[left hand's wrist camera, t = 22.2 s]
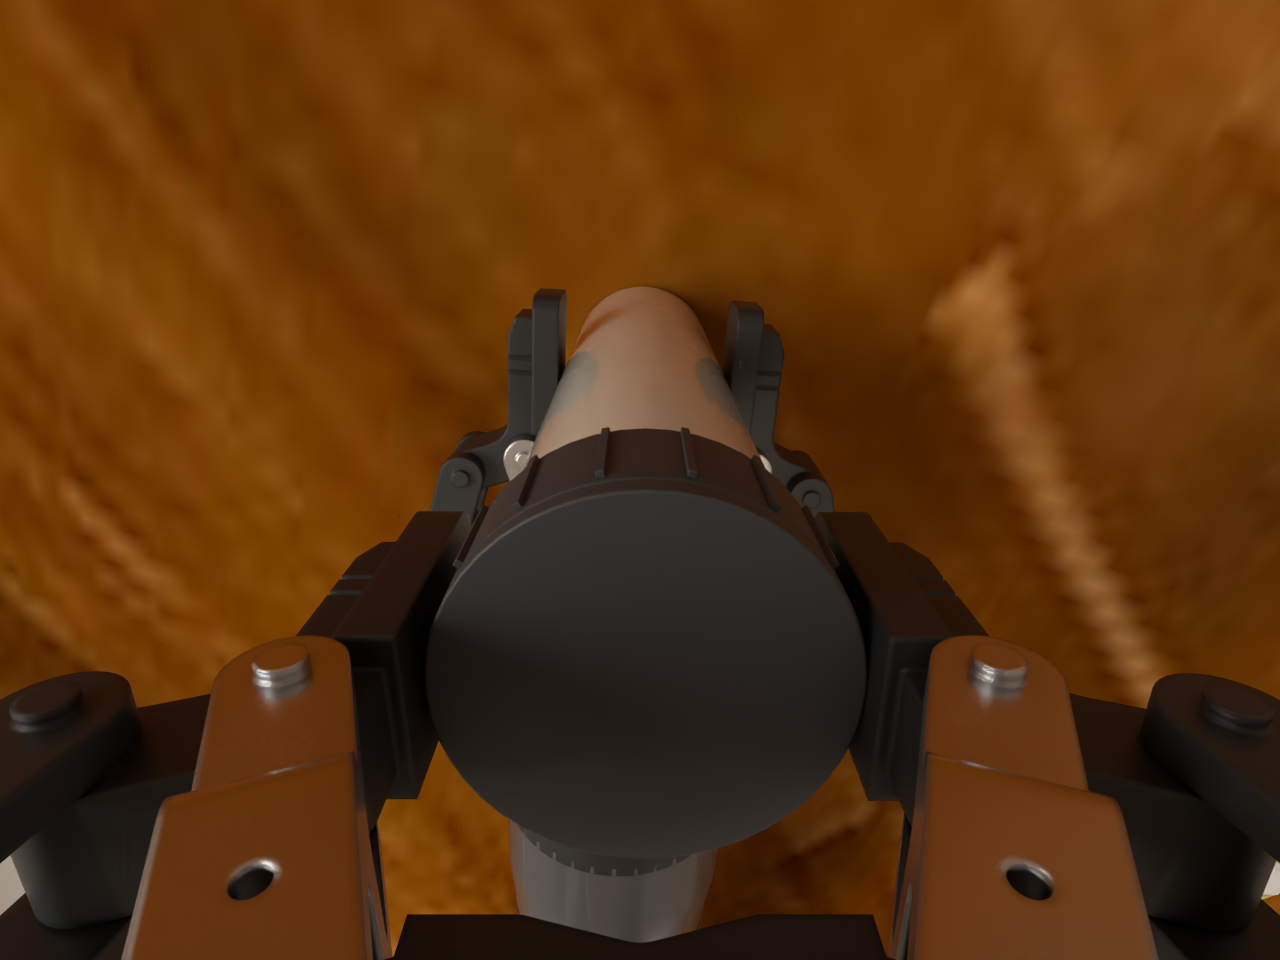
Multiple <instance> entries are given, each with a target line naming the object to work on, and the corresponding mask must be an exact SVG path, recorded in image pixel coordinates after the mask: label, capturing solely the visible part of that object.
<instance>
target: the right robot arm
mask: <svg viewBox="0 0 1280 960" xmlns="http://www.w3.org/2000/svg"><path fill="white" fill-rule="evenodd" d="M566 309H567V295H566V290H559V289H542V288H541V289H540V290H539V291H538V292H537V293H536V294H535V295H534V299H533V309H522V310H521V312H520V313H519V314H518V315H517V316H516V317H515V319H514V321H513V324H512V326H511V329H510V331H509V334H508V424H507V425H506V426H504V427H503V428H500V429H497V430H494V431H490V432H487V433H484V432H480V431H474V432H470V433H468V434H466V435H465V436H464V437H463V438H462V439H461V440H460V442H459V443H458V445H457V447H456V450H455V452H454V453H453V455H451V456H450V457H449V458H448V459H447V460H446V461H445V463H444V464H443V466H442V467H441V469H440V472H439V476H438V480H437V484H436V488H435V492H434V496H433V500H432V504H431V508H430V511H466V512H467V513H468V515H469V517H470V521H471V526H472V525H473V523H474V521H475V519H476V517H477V515H478V513H479V511H480V509H481V508H482V506H483V505H484V501H485V498H486V494H487V491H488V487H490V486H494V485H497V484H501V483H505V482H508V481H511V480H512V479H513V478H515V477H516V476H517V475H518V474H519V473H520V472H522V470H523V467H524V465H525V463H526V460H527V458H528V456H529V453H530V451H531V448H532V446H533V444H534V441H535V439H536V436H537V434H538V432H539V429H540V427H541V425H542V422H543V420H544V417H545V415H546V413H547V410H548V408H549V405H550V403H551V401H552V398H553V396H554V393H555V391H556V389H557V386H558V384H559V382H560V379H561V377H562V374H563V372H564V370H565V353H566ZM783 358H784V350H783V346H782V342H781V339H780V335H779V333H778V332H777V331H776V330H775V329H774V328H773V327H772V326H771V325H767V324H764V312H763V309H762V308H761V307H760V306H759V305H758V304H757V303H756V302H742V301H731V302H730V305H729V311H728V319H727V329H726V339H725V348H724V358H723V368H722V372H723V374H724V377H725V379H726V381H727V383H728V386H729V388H730V390H731V392H732V395H733V397H734V399H735V401H736V404H737V406H738V408H739V410H740V413H741V415H742V417H743V419H744V422H745V424H746V426H747V428H748V431H749V433H750V435H751V437H752V439H753V442H754V444H755V446H756V448H757V451H758V453H759V455H760V457H761V460H762V462H763V464H764V466H765V469H766V470H768V471H769V472H770V473H771V474H772V475H773V476H775V477H776V478H777V479H778V480H779V481H780V482H781V483H782V484H783V485H784V486H785V487H786V488H787V490H788V491H789V492H790V493H791V494H792V495H793V496H794V498H795V499H796V500H797V502H798V503H799V505H800V506H801V508H802V507H804V506H806V505H807V506H808V507H809V509H810V510H811V512H812V514H813V516H814V518H815V515H816V514H817V513H818V512H834V504H833V496H832V491H831V489H830V487H829V486H828V484H827V482H826V481H825V479H824V478H823V476H822V474H821V473H820V471H819V470H818V468H817V467H816V465H815V463H814V462H813V460H812V459H811V457H810V456H809V455H808V454H806V453H804V452H802V451H790V450H788V449H786V448H783V447H781V446H779V445H777V444H775V443H774V442H773V434H774V426H775V419H776V411H777V404H778V396H779V387H780V381H781V372H782V366H783ZM509 850H510V860H511V867H512V873H513V879H514V883H515V888H516V915H526V916H529V917H533V918H537V919H541V920H545V921H549V922H553V923H557V924H561V925H565V926H569V927H573V928H577V929H581V930H585V931H589V932H593V933H597V934H601V935H605V936H609V937H613V938H617V939H621V940H625V941H629V942H635V943H645V942H651V941H655V940H659V939H663V938H667V937H671V936H675V935H679V934H683V933H687V932H691V931H695V930H699V929H701V924H702V916H703V908H704V902H705V899H706V896H707V893H708V890H709V887H710V884H711V881H712V877H713V874H714V869H715V865H716V860H717V854H718V848H717V849H713V850H709V851H705V852H701V853H697V854H690V855H684V856H677V857H668V858H647V859H643V858H623V857H614V856H607V855H600V854H594V853H590V852H586V851H582V850H578V849H574V848H570V847H567V846H564V845H561V844H559V843H556V842H553V841H550V840H548V839H545V838H543V837H541V836H539V835H537V834H535V833H533V832H531V831H529V830H527V829H524V828H522V827H521V826H519V825H518V824H516V823H514V822H513V821H511V820H510V819H509Z"/></svg>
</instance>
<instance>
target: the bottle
mask: <svg viewBox="0 0 1280 960" xmlns="http://www.w3.org/2000/svg"><path fill="white" fill-rule="evenodd" d="M606 427H609V428H610V432H611V431H616V430H626V429H642V428H648V429H664V430H674V431H679V432H680V431H681V427H684V428H689V430H690V434H695V435H699V436H702V437H705V438H708V439H711V440H714V441H717V442H720V443H722V444H724V445H726V446H729V447H731V448H733V449H735V450H737V451H739V452H741V453H743V454H745V455H746V456H748V457H749V458H752V457H753V456H754V455H756V456H757V457H759V458H760V459H761V457H760V455H759V453H758V451H757V448H756V446H755V444H754V442H753V439H752V437H751V435H750V433H749V431H748V428H747V426H746V424H745V422H744V419H743V417H742V415H741V413H740V410H739V408H738V406H737V404H736V401H735V399H734V397H733V395H732V392H731V390H730V388H729V386H728V383H727V381H726V379H725V377H724V374H723V372H722V370H721V368H720V365H719V363H718V361H717V359H716V356H715V354H714V352H713V350H712V347H711V345H710V343H709V341H708V338H707V336H706V334H705V332H704V329H703V327H702V325H701V323H700V321H699V319H698V317H697V316H696V315H695V313H694V312H693V310H692V309H691V308H690V307H689V306H688V305H687V304H686V303H685V302H684V301H682V300H681V299H680V298H678V297H677V296H675V295H673V294H671V293H669V292H667V291H665V290H661V289H658V288H653V287H632V288H627V289H623V290H620V291H618V292H615V293H613V294H611V295H610V296H608V297H606V298H605V299H604V300H602V301H601V302H600V303H599V304H598V305H597V306H596V307H595V308H594V309H593V310H592V311H591V313H590V314H589V315H588V317H587V319H586V320H585V322H584V324H583V327H582V329H581V331H580V334H579V336H578V339H577V341H576V343H575V346H574V348H573V351H572V353H571V355H570V358H569V360H568V362H567V365H566V367H565V370H564V372H563V374H562V377H561V379H560V382H559V384H558V386H557V389H556V391H555V393H554V396H553V398H552V401H551V403H550V405H549V408H548V410H547V413H546V415H545V417H544V420H543V422H542V425H541V427H540V429H539V432H538V434H537V436H536V439H535V441H534V444H533V446H532V448H531V451H530V453H529V456H528V458H527V460H526V463H525V465H524V467H523V470H524V469H525V468H526V467H527V465H528V462H529V460H530V458H531V457H533V456H535V455H537V456H538V457H539V459H540V458H541V457H543V456H544V455H546V454H547V453H549V452H551V451H554V450H556V449H558V448H560V447H562V446H564V445H566V444H568V443H570V442H573V441H577V440H580V439H583V438H586V437H589V436H592V435H595V434H601V429H602V428H606ZM761 461H762V460H761ZM762 463H763V462H762ZM763 465H764V464H763ZM764 468H765V466H764ZM523 470H522V471H523Z"/></svg>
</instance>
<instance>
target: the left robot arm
mask: <svg viewBox="0 0 1280 960" xmlns="http://www.w3.org/2000/svg"><path fill="white" fill-rule="evenodd" d="M815 520H816V522H817V524H818V526H819V527H820V529H821V531H822V533H823V535H824V537H825V539H826V541H827V543H828V544H829V546H830V548H831V550H832V552H833V554H834V556H835V558H836V560H837V562H838V563H839V566H838V567H836V568H834V570H835V572H836V574H837V576H838V578H839V580H840V582H841V584H842V586H843V588H844V590H845V592H846V593H847V595H848V598H849V600H850V602H851V604H852V606H853V609H854V611H855V613H856V615H857V618H858V620H859V624H860V627H861V631H862V635H863V638H864V642H865V649H866V658H867V668H868V670H867V688H866V696H865V701H864V706H863V710H862V715H861V719H860V722H859V724H858V727H857V730H856V732H855V735H854V738H853V740H852V742H851V744H850V746H849V747H848V748H849V750H850V753H851V756H852V758H853V761H854V764H855V766H856V769H857V772H858V774H859V777H860V780H861V782H862V785H863V788H864V790H865V793H866V796H867V798H868V801H900V803H901V805H902V808H903V810H904V818H903V824H902V830H901V836H900V843H899V853H898V863H897V873H896V882H895V892H894V902H893V912H892V921H891V931H890V941H889V951H888V957H886V954H885V951H884V948H883V945H882V942H881V939H880V936H879V933H878V929H877V926H876V923H875V920H874V917H873V915H754V916H751V917H747V918H743V919H739V920H735V921H731V922H727V923H723V924H719V925H715V926H711V927H707V928H703V929H699V930H695V931H691V932H687V933H683V934H679V935H675V936H671V937H667V938H663V939H659V940H655V941H651V942H645V943H635V942H629V941H625V940H621V939H617V938H613V937H609V936H605V935H601V934H597V933H593V932H589V931H585V930H581V929H577V928H573V927H569V926H565V925H561V924H557V923H553V922H549V921H545V920H541V919H537V918H533V917H529V916H526V915H407V917H406V920H405V923H404V926H403V929H402V933H401V936H400V939H399V942H398V945H397V948H396V951H395V954H394V957H392V950H391V940H390V930H389V920H388V911H387V901H386V891H385V881H384V872H383V862H382V852H381V842H380V835H379V829H378V823H377V820H378V818H379V815H380V813H381V811H382V808H383V806H384V803H385V801H386V799H417V798H418V795H419V793H420V790H421V787H422V784H423V782H424V779H425V776H426V774H427V771H428V768H429V765H430V763H431V760H432V757H433V754H434V752H435V749H436V746H437V743H438V741H439V739H438V736H437V733H436V731H435V728H434V725H433V723H432V720H431V717H430V712H429V707H428V702H427V698H426V693H425V672H424V667H425V658H426V649H427V642H428V639H429V636H428V635H429V629H430V627H431V625H432V623H433V621H434V618H435V616H436V614H437V611H438V609H439V607H440V605H441V603H442V600H443V598H444V596H445V594H446V592H447V590H448V588H449V586H450V584H451V582H452V579H453V577H454V575H455V573H456V571H457V569H458V568H456V567H454V566H453V563H454V561H455V559H456V557H457V555H458V553H459V551H460V549H461V547H462V545H463V543H464V541H465V539H466V537H467V535H468V533H469V531H470V529H471V527H472V526H471V521H470V517H469V515H468V513H467V512H466V511H419V512H417V513H416V514H415V515H414V517H413V518H412V520H411V521H410V523H409V524H408V525H407V527H406V528H405V530H404V531H403V533H402V534H401V535H400V537H399V538H398V540H397V541H396V542H381V543H380V544H378V545H376V546H375V547H373V548H371V549H370V550H368V551H367V552H365V553H363V554H362V555H360V556H358V557H357V558H356V559H355V560H354V561H353V563H352V564H351V565H350V567H349V568H348V569H347V570H346V572H345V573H344V574H343V576H342V580H339V581H338V582H337V583H336V585H335V586H334V587H333V589H332V590H331V591H330V595H327V596H326V598H325V599H324V600H323V602H322V603H321V604H320V605H319V607H318V608H317V609H316V611H315V612H314V613H313V615H312V616H311V617H310V618H309V620H308V621H307V622H306V624H305V625H304V626H303V628H302V629H301V630H300V631H299V633H298V634H297V635H296V636H294V637H287V638H282V639H278V640H274V641H271V642H267V643H264V644H262V645H259V646H257V647H254V648H252V649H250V650H248V651H246V652H244V653H242V654H241V655H239V656H237V657H236V658H234V659H233V660H232V661H230V662H229V663H228V664H227V665H225V666H224V667H223V669H222V670H221V671H220V672H219V673H218V675H217V676H216V678H215V680H214V683H213V687H212V691H211V694H207V695H202V696H198V697H193V698H188V699H183V700H177V701H172V702H167V703H162V704H156V705H151V706H146V707H141V708H137V707H136V704H135V700H134V697H133V694H132V690H131V687H130V684H129V682H128V681H127V680H126V679H125V678H124V677H122V676H120V675H118V674H114V673H110V672H101V671H92V672H80V673H73V674H68V675H63V676H59V677H55V678H51V679H48V680H45V681H42V682H39V683H36V684H33V685H31V686H28V687H26V688H23V689H21V690H19V691H17V692H15V693H13V694H10V695H8V696H6V697H5V698H3V699H1V700H0V863H1V862H2V861H4V860H5V859H6V858H7V857H8V856H10V855H11V858H12V860H13V863H14V865H15V868H16V870H17V873H18V875H19V877H20V880H21V882H22V885H23V887H24V890H25V892H26V893H25V894H24V895H23V896H21V897H20V898H19V899H18V900H17V901H16V902H15V903H14V904H13V905H11V906H10V907H9V908H8V909H7V910H6V911H5V912H4V913H3V914H1V915H0V960H1280V915H1279V914H1277V913H1276V912H1275V911H1274V910H1273V909H1272V908H1271V907H1270V906H1269V905H1267V904H1266V903H1265V902H1264V901H1263V900H1262V899H1261V897H1262V895H1263V893H1264V890H1265V888H1266V885H1267V883H1268V881H1269V878H1270V876H1271V873H1272V871H1273V868H1274V866H1275V864H1276V861H1278V862H1279V863H1280V700H1278V699H1277V698H1275V697H1273V696H1271V695H1268V694H1266V693H1264V692H1262V691H1260V690H1257V689H1255V688H1252V687H1250V686H1247V685H1244V684H1241V683H1238V682H1235V681H1232V680H1228V679H1224V678H1220V677H1215V676H1210V675H1202V674H1189V673H1183V674H1173V675H1169V676H1165V677H1163V678H1161V679H1159V680H1158V681H1157V682H1156V683H1155V685H1154V687H1153V689H1152V692H1151V696H1150V699H1149V702H1148V706H1147V709H1144V708H1139V707H1133V706H1128V705H1123V704H1118V703H1112V702H1107V701H1102V700H1097V699H1092V698H1087V697H1083V696H1078V695H1074V694H1071V693H1069V691H1068V686H1067V683H1066V680H1065V678H1064V676H1063V675H1062V673H1061V672H1060V671H1059V669H1058V668H1057V667H1056V666H1055V665H1054V664H1052V663H1051V662H1050V661H1049V660H1047V659H1046V658H1044V657H1043V656H1041V655H1040V654H1038V653H1036V652H1034V651H1032V650H1030V649H1028V648H1026V647H1023V646H1021V645H1018V644H1016V643H1013V642H1009V641H1006V640H1002V639H998V638H993V637H989V635H988V634H987V633H986V632H985V630H984V629H983V628H982V626H981V625H980V624H979V623H978V621H977V620H976V619H975V618H974V616H973V615H972V614H971V612H970V611H969V610H968V609H967V607H966V606H965V605H964V603H963V602H962V601H961V600H960V598H959V597H958V596H955V592H954V591H953V589H952V588H951V587H950V586H949V584H948V583H947V582H946V581H943V577H942V575H941V574H940V573H939V571H938V570H937V569H936V568H935V566H934V565H933V564H932V562H931V561H930V560H929V559H928V558H927V557H925V556H923V555H922V554H920V553H918V552H917V551H915V550H914V549H912V548H910V547H909V546H907V545H905V544H904V543H889V542H888V541H887V539H886V538H885V537H884V535H883V534H882V532H881V531H880V530H879V528H878V527H877V525H876V524H875V522H874V521H873V520H872V518H871V517H870V515H869V514H868V513H867V512H818V513H817V514H816V515H815Z"/></svg>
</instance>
